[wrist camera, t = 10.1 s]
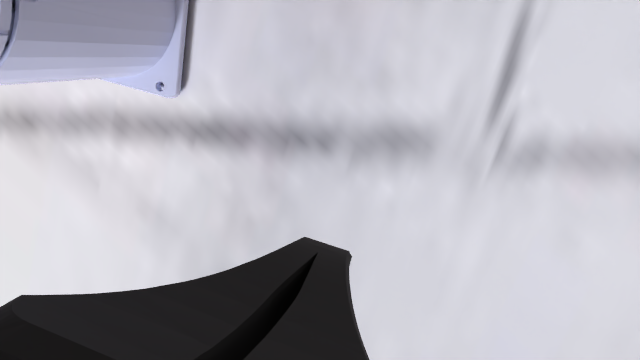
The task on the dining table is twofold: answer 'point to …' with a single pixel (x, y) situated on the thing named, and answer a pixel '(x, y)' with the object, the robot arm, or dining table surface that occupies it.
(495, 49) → the dining table surface
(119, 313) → the robot arm
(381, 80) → the dining table surface
